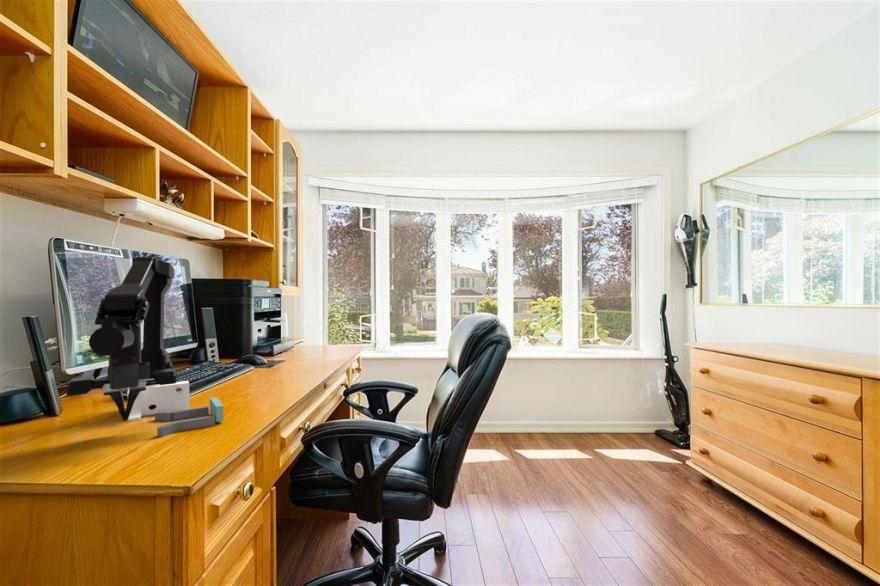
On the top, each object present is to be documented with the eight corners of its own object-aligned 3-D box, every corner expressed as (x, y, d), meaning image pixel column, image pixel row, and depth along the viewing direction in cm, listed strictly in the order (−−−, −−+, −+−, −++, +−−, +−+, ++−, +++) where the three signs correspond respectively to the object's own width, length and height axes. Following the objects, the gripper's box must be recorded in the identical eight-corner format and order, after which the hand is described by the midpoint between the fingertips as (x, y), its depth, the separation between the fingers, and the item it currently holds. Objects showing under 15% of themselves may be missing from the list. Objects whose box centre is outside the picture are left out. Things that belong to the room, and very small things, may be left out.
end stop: (209, 411, 104) (209, 397, 104) (216, 410, 105) (216, 397, 105) (216, 422, 96) (216, 406, 96) (223, 420, 97) (223, 405, 97)
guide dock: (154, 420, 99) (154, 411, 99) (206, 411, 106) (206, 404, 106) (157, 438, 87) (157, 428, 87) (216, 427, 93) (216, 418, 93)
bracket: (128, 415, 103) (127, 422, 97) (128, 387, 103) (127, 393, 97) (188, 406, 111) (190, 412, 105) (188, 380, 111) (190, 385, 105)
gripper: (62, 358, 78) (62, 439, 77) (178, 349, 89) (178, 420, 89) (70, 351, 86) (70, 425, 86) (174, 344, 98) (174, 409, 98)
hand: (125, 420), depth 90 cm, fingers closed
